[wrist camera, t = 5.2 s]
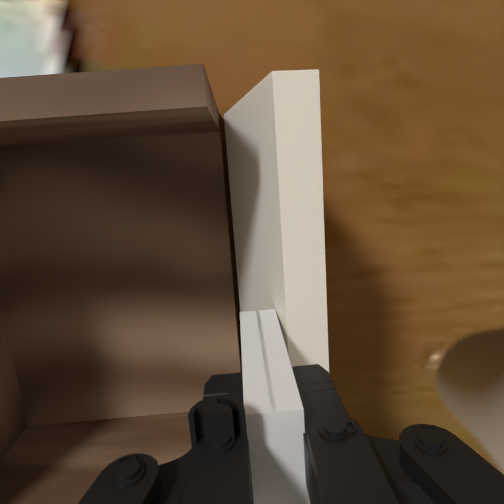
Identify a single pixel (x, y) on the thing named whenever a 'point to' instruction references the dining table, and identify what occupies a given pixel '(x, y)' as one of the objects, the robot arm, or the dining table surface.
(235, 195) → the panel
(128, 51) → the dining table surface
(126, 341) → the crate
